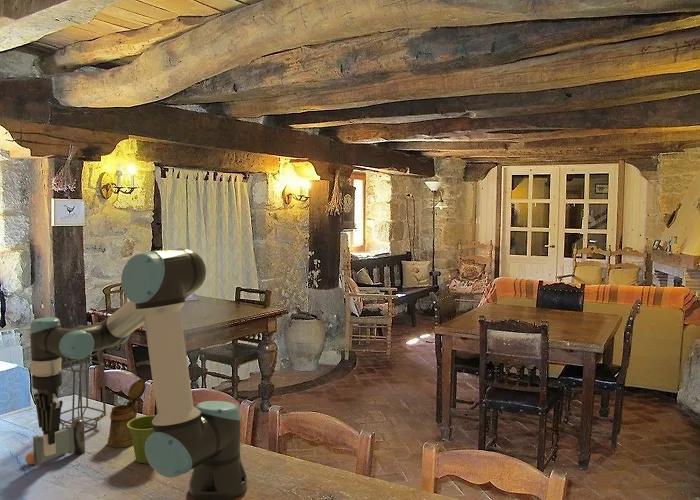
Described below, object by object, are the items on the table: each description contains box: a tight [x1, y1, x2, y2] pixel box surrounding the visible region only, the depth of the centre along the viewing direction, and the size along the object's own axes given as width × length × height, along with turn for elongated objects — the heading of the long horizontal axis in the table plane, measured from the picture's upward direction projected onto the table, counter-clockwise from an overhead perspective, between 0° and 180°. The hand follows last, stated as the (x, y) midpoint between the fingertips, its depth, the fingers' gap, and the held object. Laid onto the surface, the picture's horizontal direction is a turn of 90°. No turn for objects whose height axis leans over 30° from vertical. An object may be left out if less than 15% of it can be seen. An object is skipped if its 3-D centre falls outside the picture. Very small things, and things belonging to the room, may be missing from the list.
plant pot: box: [127, 415, 156, 465], centre depth 180 cm, size 12×12×11 cm
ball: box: [25, 451, 35, 465], centre depth 177 cm, size 4×4×4 cm
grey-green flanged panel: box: [32, 424, 74, 467], centre depth 178 cm, size 11×2×8 cm, turn 144°
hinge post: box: [73, 418, 86, 456], centre depth 184 cm, size 3×3×10 cm
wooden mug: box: [107, 378, 146, 449], centre depth 194 cm, size 9×14×18 cm, turn 155°
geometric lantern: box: [57, 324, 107, 433], centre depth 202 cm, size 16×16×35 cm
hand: (49, 454), depth 174 cm, fingers closed
